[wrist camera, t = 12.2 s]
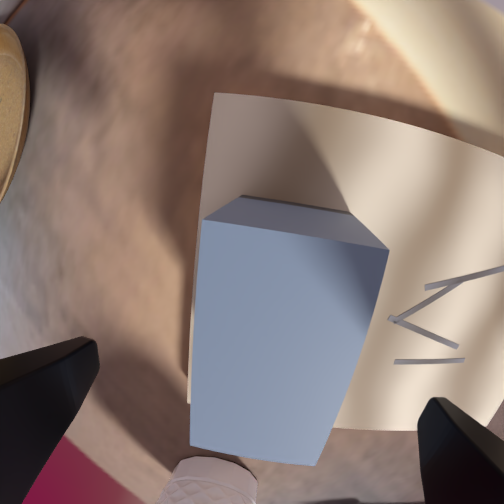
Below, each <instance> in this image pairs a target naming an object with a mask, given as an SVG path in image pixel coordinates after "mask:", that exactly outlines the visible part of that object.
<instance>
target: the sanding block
mask: <svg viewBox="0 0 504 504" xmlns="http://www.w3.org/2000/svg"><path fill="white" fill-rule="evenodd" d="M389 252H390V250H389V249H388V248H387V247H386V246H385V245H384V244H383V243H382V242H381V241H380V240H379V239H378V238H377V237H376V236H375V235H374V234H373V233H372V232H371V231H370V230H369V229H368V228H367V227H366V226H365V225H364V224H362V223H361V222H360V221H359V220H358V219H357V218H356V217H355V216H354V215H353V214H352V213H351V212H347V211H342V210H336V209H331V208H325V207H319V206H313V205H307V204H301V203H295V202H288V201H282V200H276V199H269V198H262V197H255V196H248V195H241V196H239V197H238V198H236V199H234V200H233V201H231V202H230V203H228V204H226V205H225V206H223V207H221V208H220V209H218V210H217V211H215V212H213V213H212V214H210V215H209V216H207V217H205V218H204V219H202V226H201V236H200V248H199V260H198V272H197V285H196V299H195V315H194V332H193V351H192V374H191V405H190V446H194V447H198V448H203V449H207V450H211V451H216V452H220V453H225V454H230V455H236V456H241V457H247V458H252V459H259V460H265V461H272V462H280V463H288V464H297V465H307V466H315V465H316V463H317V461H318V459H319V457H320V454H321V452H322V450H323V448H324V446H325V443H326V441H327V439H328V436H329V434H330V432H331V430H332V427H333V425H334V422H335V420H336V418H337V415H338V413H339V410H340V408H341V405H342V403H343V400H344V398H345V395H346V392H347V390H348V387H349V384H350V382H351V379H352V376H353V373H354V371H355V368H356V365H357V362H358V359H359V356H360V353H361V350H362V347H363V344H364V341H365V338H366V335H367V332H368V329H369V325H370V322H371V319H372V316H373V312H374V309H375V305H376V302H377V298H378V295H379V291H380V287H381V284H382V280H383V276H384V272H385V268H386V264H387V260H388V256H389Z"/></svg>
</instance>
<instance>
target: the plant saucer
mask: <svg viewBox="0 0 504 504" xmlns="http://www.w3.org/2000/svg"><path fill="white" fill-rule="evenodd" d="M29 111H30V83H29V73H28V67H27V62H26V58H25V54H24V51H23V48H22V45H21V43H20V41H19V38H18V36H17V35H16V33H15V32H14V31H13V29H12V28H10V27H9V26H7V25H5V24H0V203H1V201H2V200H3V198H4V196H5V194H6V192H7V190H8V188H9V186H10V184H11V181H12V179H13V177H14V174H15V172H16V169H17V166H18V163H19V161H20V158H21V154H22V151H23V147H24V143H25V139H26V134H27V128H28V121H29Z"/></svg>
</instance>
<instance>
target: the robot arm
mask: <svg viewBox="0 0 504 504" xmlns="http://www.w3.org/2000/svg"><path fill="white" fill-rule="evenodd" d="M99 368H100V363H99V356H98V348H97V343H96V341H95V340H93V339H90V338H87V337H84V336H81V337H78V338H74V339H71V340H67V341H64V342H60V343H57V344H53V345H50V346H46V347H43V348H39V349H36V350H32V351H29V352H25V353H21V354H18V355H14V356H11V357H7V358H3V359H0V504H22V502H23V500H24V499H25V497H26V495H27V494H28V492H29V490H30V488H31V487H32V485H33V483H34V482H35V480H36V478H37V476H38V475H39V473H40V472H41V470H42V468H43V467H44V465H45V464H46V462H47V460H48V459H49V457H50V455H51V454H52V452H53V451H54V449H55V447H56V446H57V444H58V443H59V441H60V440H61V438H62V436H63V435H64V433H65V432H66V430H67V429H68V427H69V426H70V424H71V422H72V421H73V419H74V418H75V416H76V414H77V413H78V411H79V409H80V407H81V405H82V403H83V401H84V399H85V397H86V395H87V393H88V391H89V389H90V387H91V385H92V384H93V382H94V380H95V378H96V376H97V374H98V372H99ZM417 432H418V444H419V458H420V471H421V478H422V485H423V491H424V498H425V504H504V441H503V440H502V439H500V438H499V437H498V436H496V435H495V434H494V433H492V432H491V431H490V430H488V429H487V428H486V427H484V426H483V425H481V424H480V423H479V422H477V421H476V420H475V419H473V418H472V417H471V416H469V415H468V414H467V413H465V412H464V411H463V410H461V409H460V408H459V407H457V406H456V405H455V404H453V403H452V402H451V401H449V400H448V399H447V398H445V397H432V398H430V399H429V401H428V402H427V404H426V406H425V408H424V410H423V412H422V413H421V415H420V417H419V419H418V422H417Z"/></svg>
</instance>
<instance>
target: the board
mask: <svg viewBox="0 0 504 504" xmlns="http://www.w3.org/2000/svg"><path fill="white" fill-rule="evenodd" d="M241 195H248V196H255V197H262V198H269V199H276V200H282V201H288V202H295V203H301V204H307V205H313V206H319V207H325V208H331V209H336V210H342V211H347V212H351V213H352V214H353V215H354V216H355V217H356V218H357V219H358V220H359V221H360V222H361V223H362V224H364V225H365V226H366V227H367V228H368V229H369V230H370V231H371V232H372V233H373V234H374V235H375V236H376V237H377V238H378V239H379V240H380V241H381V242H382V243H383V244H384V245H385V246H386V247H387V248H388V249H389V250H390V252H389V256H388V260H387V264H386V268H385V272H384V276H383V280H382V284H381V287H380V291H379V295H378V298H377V302H376V305H375V309H374V312H373V316H372V319H371V322H370V325H369V329H368V332H367V335H366V338H365V341H364V344H363V347H362V350H361V353H360V356H359V359H358V362H357V365H356V368H355V371H354V373H353V376H352V379H351V382H350V384H349V387H348V390H347V392H346V395H345V398H344V400H343V403H342V405H341V408H340V410H339V413H338V415H337V418H336V420H335V422H334V425H333V428H346V429H363V430H397V431H410V430H417V422H418V419H419V417H420V415H421V413H422V412H423V410H424V408H425V406H426V404H427V402H428V401H429V399H430V398H432V397H445V398H447V399H448V400H449V401H451V402H452V403H453V404H455V405H456V406H457V407H459V408H460V409H461V410H463V411H464V412H465V413H467V414H468V415H469V416H471V417H472V418H473V419H475V420H476V421H477V422H479V423H480V424H481V425H483V426H487V425H488V423H489V422H490V420H491V419H492V417H493V416H494V414H495V412H496V411H497V409H498V408H499V406H500V404H501V403H502V401H503V399H504V157H503V156H500V155H498V154H495V153H493V152H490V151H488V150H485V149H482V148H480V147H477V146H474V145H472V144H469V143H466V142H463V141H460V140H458V139H455V138H452V137H449V136H446V135H442V134H439V133H436V132H433V131H430V130H426V129H423V128H420V127H416V126H413V125H409V124H405V123H402V122H398V121H394V120H390V119H386V118H382V117H378V116H374V115H369V114H365V113H360V112H356V111H351V110H346V109H341V108H336V107H331V106H325V105H319V104H313V103H307V102H301V101H294V100H287V99H279V98H271V97H263V96H253V95H243V94H231V93H216V92H214V98H213V105H212V112H211V119H210V126H209V133H208V141H207V149H206V157H205V165H204V173H203V182H202V191H201V200H200V210H199V220H198V230H197V241H196V253H195V265H194V277H193V291H192V306H191V322H190V341H189V363H188V391H187V403H189V404H191V374H192V351H193V332H194V315H195V299H196V285H197V272H198V260H199V248H200V236H201V226H202V219H204V218H205V217H207V216H209V215H210V214H212V213H213V212H215V211H217V210H218V209H220V208H221V207H223V206H225V205H226V204H228V203H230V202H231V201H233V200H234V199H236V198H238V197H239V196H241Z"/></svg>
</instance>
